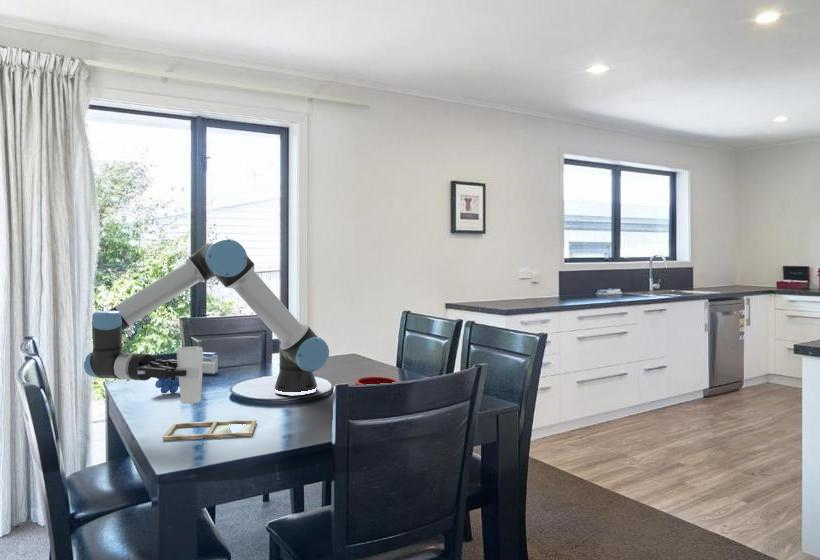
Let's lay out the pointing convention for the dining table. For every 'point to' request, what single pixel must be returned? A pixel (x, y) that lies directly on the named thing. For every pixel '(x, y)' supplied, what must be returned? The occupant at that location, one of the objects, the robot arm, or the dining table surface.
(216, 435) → the wooden window frame
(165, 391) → the grapes
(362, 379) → the plant pot
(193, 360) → the drinking glass
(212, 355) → the medicine box
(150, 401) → the dining table surface
